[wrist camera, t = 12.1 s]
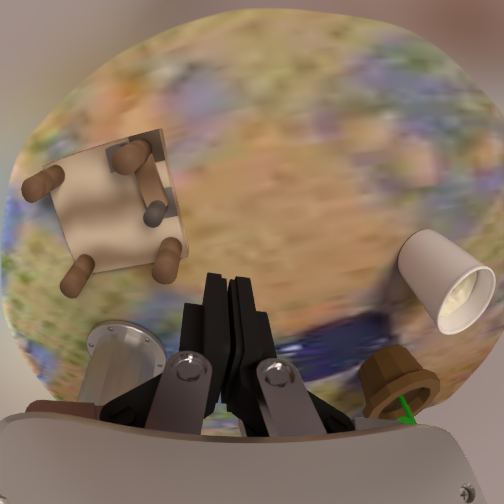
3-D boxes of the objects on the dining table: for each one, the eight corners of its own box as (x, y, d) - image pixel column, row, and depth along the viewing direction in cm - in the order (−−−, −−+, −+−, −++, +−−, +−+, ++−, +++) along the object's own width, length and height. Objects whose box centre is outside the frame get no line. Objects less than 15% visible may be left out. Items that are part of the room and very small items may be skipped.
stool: (190, 248, 35) (184, 284, 29) (86, 266, 35) (64, 302, 28) (162, 127, 28) (146, 135, 22) (50, 161, 28) (15, 179, 22)
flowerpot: (334, 388, 52) (382, 530, 25) (374, 333, 46) (455, 493, 19) (390, 387, 55) (442, 505, 29) (429, 338, 49) (505, 463, 23)
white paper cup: (405, 219, 36) (461, 264, 26) (453, 228, 38) (505, 269, 27) (383, 282, 41) (424, 338, 30) (431, 284, 42) (472, 332, 32)
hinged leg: (173, 209, 31) (164, 231, 26) (152, 216, 31) (140, 238, 26) (148, 135, 27) (133, 142, 22) (126, 143, 27) (107, 152, 22)
